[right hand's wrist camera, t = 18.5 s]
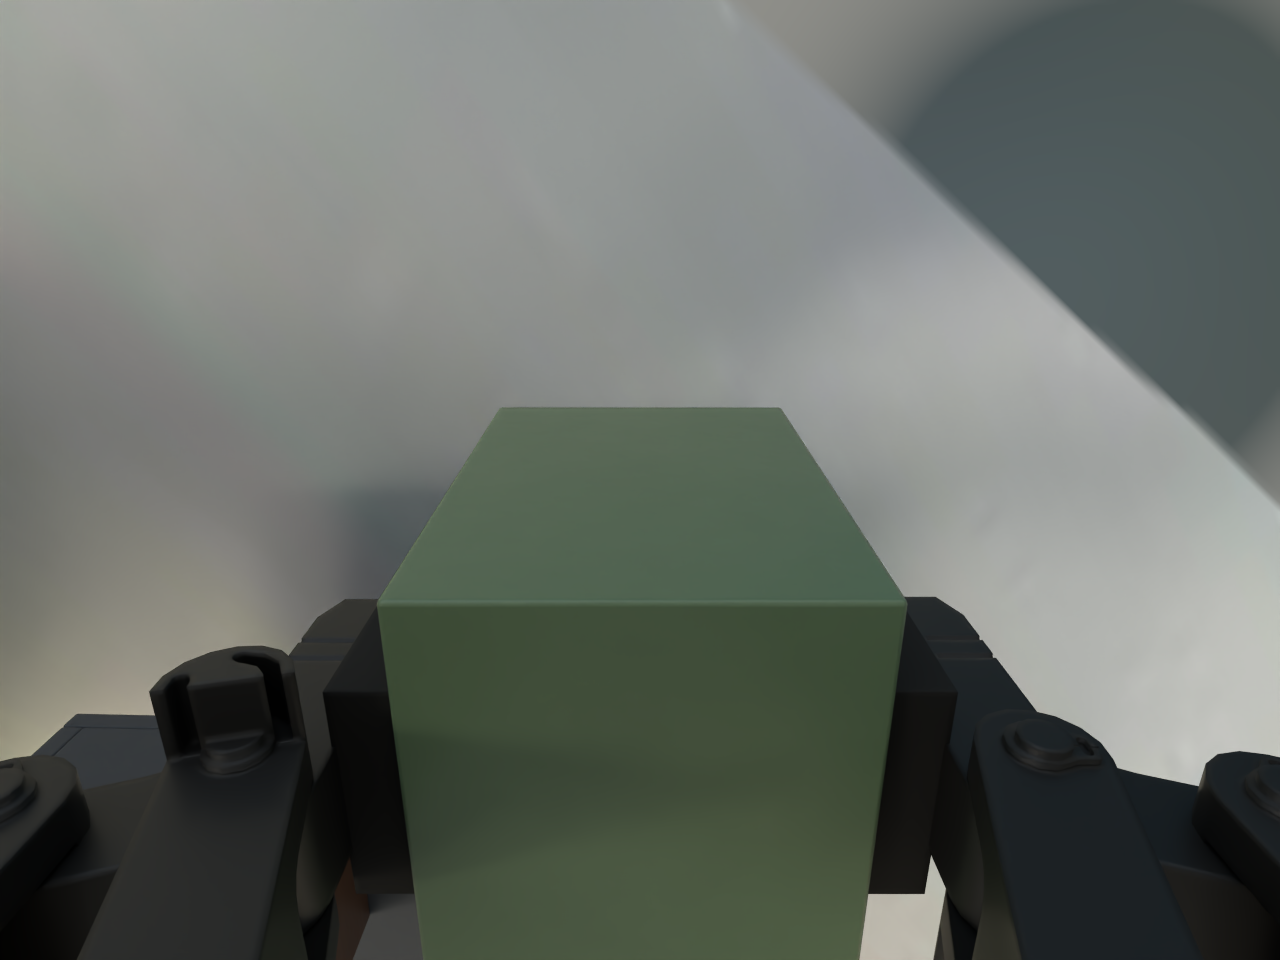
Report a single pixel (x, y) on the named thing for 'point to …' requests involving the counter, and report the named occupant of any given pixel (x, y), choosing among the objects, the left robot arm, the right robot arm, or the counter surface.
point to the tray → (137, 751)
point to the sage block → (641, 693)
